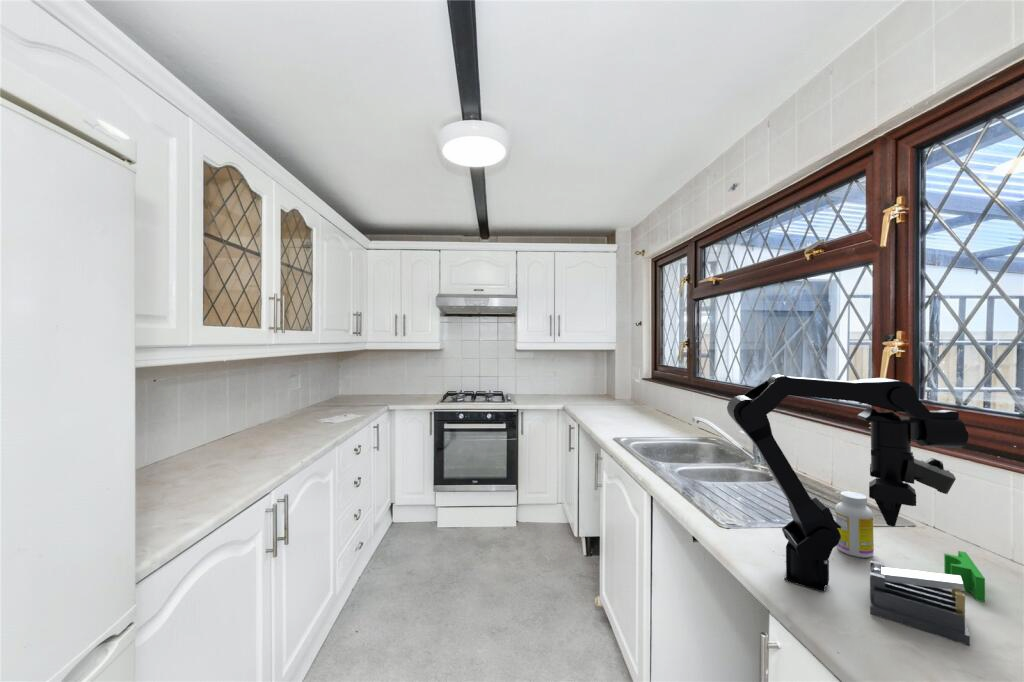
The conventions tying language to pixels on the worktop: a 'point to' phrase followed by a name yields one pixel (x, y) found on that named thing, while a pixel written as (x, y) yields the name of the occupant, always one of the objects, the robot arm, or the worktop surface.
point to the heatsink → (920, 607)
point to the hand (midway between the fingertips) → (891, 525)
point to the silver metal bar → (919, 578)
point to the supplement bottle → (855, 525)
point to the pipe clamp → (966, 573)
